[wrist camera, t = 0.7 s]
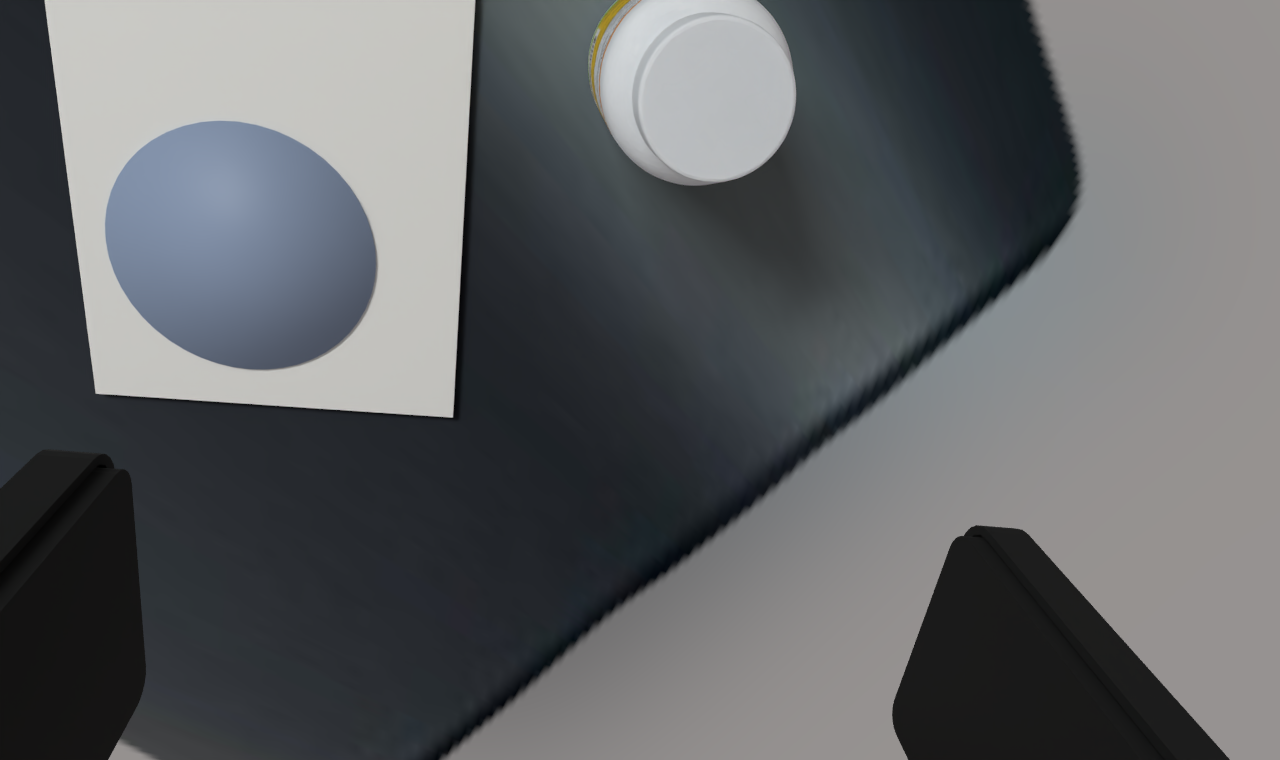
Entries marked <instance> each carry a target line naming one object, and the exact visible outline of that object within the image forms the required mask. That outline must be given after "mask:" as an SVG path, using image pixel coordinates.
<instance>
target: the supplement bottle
mask: <svg viewBox="0 0 1280 760" xmlns="http://www.w3.org/2000/svg"><path fill="white" fill-rule="evenodd" d="M588 75H589V83H590V87H591V92H592V95H593V98H594V100H595V103H596V105H597V107H598V109H599V111H600V113H601V115H602V117H603V119H604V121H605V123H606V124H607V126H608V129H609V131H610V133H611V134H612V136H613V138H614V139H615V141H616V142H617V143H618V145H619V146H620V148H621V149H622V150H623V151H624V153H625V154H626V155H627V156H628V157H629V158H630V159H631V160H632V161H633V162H634V163H635V164H637V165H638V166H639V167H640V168H642V169H643V170H645V171H646V172H648V173H649V174H651V175H653V176H655V177H657V178H660V179H662V180H665V181H668V182H672V183H676V184H681V185H690V186H699V185H709V184H715V183H719V182H726V181H730V180H734V179H738V178H740V177H743V176H745V175H747V174H749V173H751V172H753V171H754V170H756V169H758V168H759V167H761V166H762V165H763V164H764V163H765V162H766V161H768V160H769V159H770V158H771V157H772V156H773V154H774V153H775V152H776V151H777V150H778V148H779V147H780V145H781V144H782V142H783V141H784V139H785V137H786V135H787V133H788V131H789V128H790V126H791V123H792V120H793V116H794V112H795V105H796V84H795V77H794V73H793V65H792V59H791V54H790V50H789V47H788V44H787V42H786V39H785V37H784V35H783V33H782V31H781V29H780V27H779V25H778V24H777V22H776V21H775V19H774V18H773V17H772V15H771V14H770V13H769V12H768V11H767V10H766V9H765V8H764V7H763V6H762V5H761V4H760V3H759V2H758V1H757V0H617V1H616V2H615V3H614V4H613V5H612V6H611V7H610V8H609V9H608V10H607V12H606V13H605V14H604V16H603V17H602V19H601V20H600V22H599V24H598V26H597V28H596V30H595V33H594V35H593V38H592V42H591V46H590V50H589V57H588Z"/></svg>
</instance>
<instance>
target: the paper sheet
mask: <svg viewBox="0 0 1280 760" xmlns="http://www.w3.org/2000/svg"><path fill="white" fill-rule="evenodd" d="M475 2H476V0H45V7H46V14H47V22H48V30H49V37H50V45H51V53H52V60H53V68H54V76H55V83H56V91H57V99H58V106H59V114H60V122H61V129H62V137H63V145H64V153H65V160H66V168H67V176H68V183H69V191H70V199H71V206H72V214H73V222H74V229H75V237H76V245H77V252H78V260H79V268H80V275H81V283H82V291H83V298H84V306H85V314H86V321H87V329H88V337H89V344H90V352H91V360H92V367H93V375H94V383H95V390H96V394H109V395H124V396H139V397H154V398H169V399H184V400H198V401H213V402H228V403H243V404H258V405H273V406H288V407H303V408H317V409H332V410H347V411H362V412H377V413H392V414H407V415H422V416H436V417H451V418H453V414H454V395H455V376H456V357H457V339H458V320H459V301H460V283H461V264H462V245H463V226H464V208H465V189H466V170H467V152H468V133H469V114H470V95H471V77H472V58H473V39H474V20H475Z"/></svg>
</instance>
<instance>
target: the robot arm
mask: <svg viewBox="0 0 1280 760" xmlns="http://www.w3.org/2000/svg"><path fill="white" fill-rule="evenodd" d="M145 676H146V663H145V650H144V638H143V625H142V612H141V599H140V586H139V573H138V560H137V547H136V534H135V521H134V508H133V495H132V483H131V478H130V475H129V473H128V472H127V471H126V470H124V469H114V465H113V462H112V460H111V458H110V457H109V456H107V455H106V454H98V453H86V452H74V451H62V450H42V451H41V452H39V453H38V454H36V455H35V456H34V457H33V458H32V459H31V460H30V461H29V462H28V463H27V464H26V465H25V466H24V467H23V468H22V469H21V470H19V471H18V472H17V473H16V474H15V475H14V476H13V477H12V478H11V479H10V480H9V481H8V482H7V483H6V484H5V485H4V486H3V487H2V488H1V489H0V760H108V759H109V757H110V755H111V753H112V751H113V750H114V748H115V746H116V744H117V742H118V740H119V739H120V737H121V735H122V733H123V731H124V729H125V727H126V726H127V724H128V722H129V720H130V718H131V716H132V715H133V713H134V711H135V709H136V707H137V705H138V703H139V701H140V698H141V695H142V692H143V687H144V683H145ZM892 716H893V725H894V729H895V732H896V735H897V737H898V739H899V741H900V743H901V745H902V747H903V750H904V751H905V754H906V756H907V758H908V760H1229V758H1228V757H1227V756H1226V755H1225V754H1224V753H1223V752H1222V750H1221V749H1220V748H1219V747H1218V746H1217V745H1216V744H1215V743H1214V741H1213V740H1212V739H1211V738H1210V737H1209V736H1208V735H1207V734H1206V732H1205V731H1204V730H1203V729H1202V728H1201V727H1200V726H1199V725H1198V724H1197V723H1196V721H1195V720H1194V719H1193V718H1192V717H1191V716H1190V715H1189V713H1187V711H1186V710H1185V709H1184V708H1183V707H1182V706H1181V705H1180V703H1179V702H1178V701H1177V700H1176V699H1175V698H1174V697H1173V696H1172V695H1171V693H1170V692H1169V691H1168V690H1167V689H1166V688H1165V687H1164V686H1163V684H1162V683H1161V682H1160V681H1159V680H1158V679H1157V678H1156V677H1155V676H1154V674H1153V673H1152V672H1151V671H1150V670H1149V669H1148V668H1147V667H1146V665H1145V664H1144V663H1143V662H1142V661H1141V660H1140V659H1139V658H1138V657H1137V655H1136V654H1135V653H1134V652H1133V651H1132V650H1131V649H1130V648H1129V646H1127V644H1126V643H1125V642H1124V641H1123V640H1122V639H1121V638H1120V637H1119V635H1118V634H1117V633H1116V632H1115V631H1114V630H1113V629H1112V627H1111V626H1110V625H1109V624H1108V623H1107V622H1106V621H1105V620H1104V619H1103V617H1102V616H1101V615H1100V614H1099V613H1098V612H1097V611H1096V610H1095V609H1094V607H1093V606H1092V605H1091V604H1090V603H1089V602H1088V601H1087V600H1086V599H1085V597H1084V596H1083V595H1082V594H1081V593H1080V592H1079V591H1078V590H1077V588H1076V587H1075V586H1074V585H1073V584H1072V583H1071V582H1070V581H1069V579H1068V578H1067V577H1066V576H1065V575H1064V574H1063V573H1062V572H1061V571H1060V570H1059V568H1058V567H1057V566H1056V565H1055V564H1054V563H1053V562H1052V561H1051V559H1050V558H1049V557H1048V556H1047V555H1046V554H1045V553H1044V551H1043V550H1042V549H1041V548H1040V547H1039V546H1038V545H1037V544H1036V543H1035V542H1034V540H1033V539H1032V538H1031V537H1030V536H1029V535H1028V534H1027V533H1026V532H1024V531H1023V530H1020V529H1014V528H1002V527H989V526H977V525H976V526H974V527H971V528H970V529H969V530H968V531H967V532H966V533H965V535H964V536H960V537H957V538H956V539H955V540H954V541H953V542H952V544H951V546H950V549H949V552H948V554H947V557H946V560H945V563H944V565H943V568H942V571H941V574H940V576H939V579H938V582H937V584H936V587H935V590H934V593H933V595H932V598H931V601H930V604H929V607H928V609H927V612H926V615H925V617H924V620H923V623H922V626H921V628H920V631H919V634H918V637H917V640H916V642H915V645H914V648H913V650H912V653H911V656H910V659H909V661H908V664H907V667H906V670H905V672H904V675H903V678H902V680H901V683H900V686H899V689H898V692H897V694H896V697H895V700H894V704H893V713H892Z"/></svg>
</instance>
